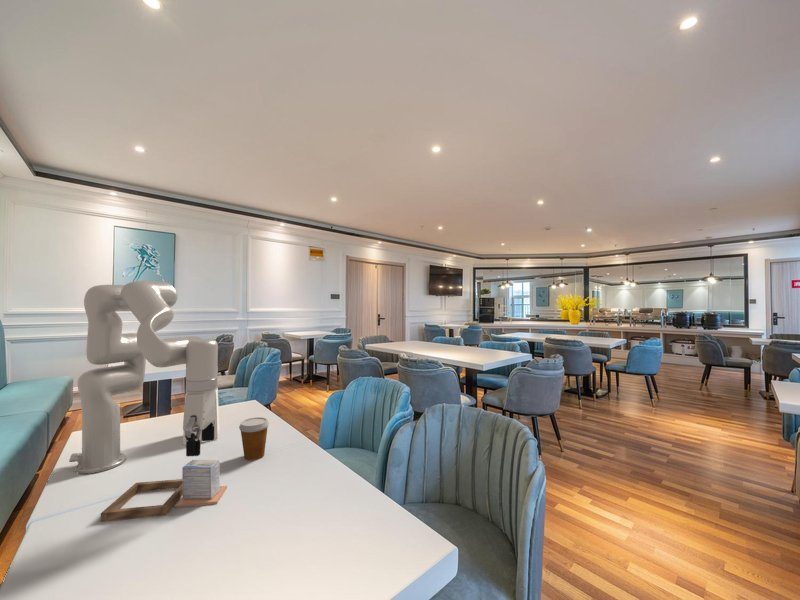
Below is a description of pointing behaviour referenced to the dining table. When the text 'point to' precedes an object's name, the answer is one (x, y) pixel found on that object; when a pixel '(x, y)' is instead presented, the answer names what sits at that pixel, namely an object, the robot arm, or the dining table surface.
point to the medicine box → (201, 479)
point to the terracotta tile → (196, 502)
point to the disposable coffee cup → (254, 437)
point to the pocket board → (149, 511)
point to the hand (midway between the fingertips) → (200, 447)
